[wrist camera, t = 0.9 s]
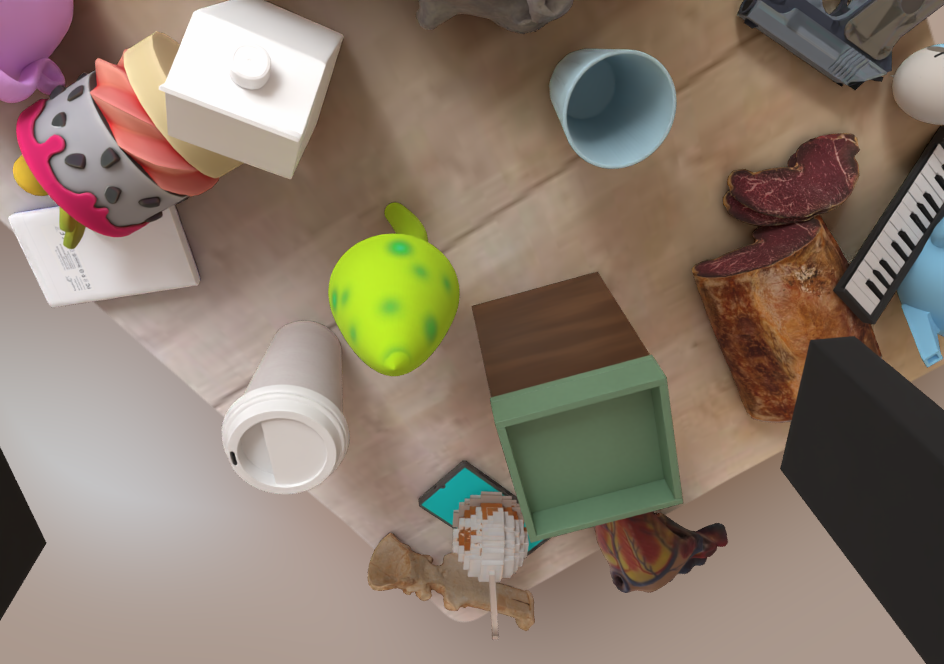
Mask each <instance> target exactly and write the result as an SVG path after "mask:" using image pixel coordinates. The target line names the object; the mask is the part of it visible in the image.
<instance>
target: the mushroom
mask: <svg viewBox="0 0 944 664" xmlns="http://www.w3.org/2000/svg"><path fill="white" fill-rule="evenodd" d="M384 214H385V217H386V219H387V220H388V222H389V223H390V224H391V226H392V227H393V229H394V231H395V232H396V234H382V235H377V236H373V237H370V238H367V239H365V240H363V241H361V242H359V243H357V244H356V245H354V246H353V247H351V248H350V249H349V250H348V251H347V252H346V253H345V254H344V255H343V256H342V257H341V258H340V259H339V261H338V262H337V264H336V265H335V267H334V269H333V272H332V274H331V277H330V281H329V289H328V296H329V303H330V308H331V311H332V314H333V317H334V319H335V321H336V323H337V325H338V327H339V329H340V331H341V333H342V335H343V336H344V338H345V340H346V341H347V343H348V344H349V346H350V347H351V348H352V350H353V351H354V352H355V353H356V355H357V356H358V357H359V358H360V359H361V360H362V361H363V362H364V363H365V364H367V365H368V366H369V367H370V368H372V369H374V370H375V371H377V372H379V373H381V374H384V375H387V376H400V375H404V374H407V373H409V372H411V371H413V370H414V369H416V368H417V367H419V366H420V365H421V364H422V363H424V362H425V361H426V360H427V359H428V358H429V357H430V356H431V355H432V353H433V352H434V351H435V350H436V348H437V347H438V346H439V344H440V343H441V341H442V340H443V338H444V337H445V335H446V333H447V332H448V330H449V328H450V326H451V324H452V322H453V320H454V317H455V315H456V312H457V308H458V304H459V283H458V279H457V276H456V273H455V271H454V269H453V267H452V265H451V263H450V262H449V260H448V259H447V258H446V257H445V256H444V255H443V254H442V252H440V251H439V250H438V249H437V248H436V247H434V246H433V245H431V244H430V243H428V238H427V233H426V231H425V228H424V226H423V225H422V223H421V222H420V221H419V219H418V218H417V217H416V216H415V215H414V214H413V213H412V212H410V211H409V210H408V209H407V208H406V207H404V206H403V205H402V204H400V203H397V202H394V203H390V204H389V205H387V207H386V208H385V212H384Z"/></svg>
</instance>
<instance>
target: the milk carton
mask: <svg viewBox="0 0 944 664" xmlns="http://www.w3.org/2000/svg"><path fill="white" fill-rule="evenodd" d="M342 40H343V35H342V34H341V33H339V32H336V31H334V30H332V29H330V28H327V27H325V26H323V25H320V24H318V23H316V22H313V21H311V20H309V19H306V18H304V17H302V16H299V15H297V14H295V13H292V12H290V11H288V10H285V9H283V8H281V7H278V6H276V5H274V4H271V3H269V2H267V1H264V0H229V1H226V2H222V3H219V4H215V5H212V6H208V7H205V8H202V9H198V10H196V11H194V13H193V15H192V18H191V20H190V22H189V25H188V27H187V30H186V32H185V35H184V37H183V40H182V42H181V45H180V47H179V50H178V52H177V54H176V57H175V59H174V62H173V64H172V67H171V69H170V72H169V74H168V77H167V79H166V82H165V83H164V84H162V85H160V86H159V90H161V91H163V92H165V98H166V113H167V128H168V135H169V136H172V137H174V138H177V139H179V140H182V141H185V142H188V143H190V144H193V145H196V146H199V147H201V148H204V149H207V150H210V151H213V152H215V153H218V154H221V155H224V156H226V157H229V158H232V159H235V160H238V161H240V162H243V163H246V164H249V165H251V166H254V167H257V168H260V169H262V170H265V171H268V172H271V173H274V174H276V175H279V176H282V177H285V178H288V179H292V176H293V174H294V172H295V170H296V167H297V165H298V163H299V161H300V159H301V157H302V154H303V152H304V150H305V148H306V146H307V144H308V142H309V139H310V137H311V135H312V133H313V131H314V129H315V127H316V124H317V121H318V118H319V115H320V112H321V108H322V105H323V102H324V99H325V95H326V92H327V89H328V86H329V82H330V79H331V76H332V73H333V69H334V66H335V63H336V60H337V56H338V53H339V50H340V47H341V43H342Z"/></svg>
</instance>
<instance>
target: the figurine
mask: <svg viewBox="0 0 944 664" xmlns="http://www.w3.org/2000/svg"><path fill="white" fill-rule="evenodd" d="M432 562H433V559H432V557H431V556H430V555H421V554H419V553H416V552H413V551H412V550H411V549H410V547H409V546H408V545H406V544H403V543H401V542H400V541H399V540H398V539H397V538H396V537H395V535H394V534H392V533H389V534H388V535H387V536H386V537H384V538H383V539H382V541H380V543H379V545H378V546H377V547H376V549H375V550H374V553H373V555H372V558H371V560H370V563H369V569H368V582H369V586H370V587H371V588H372V589H373V590H378V591H382V590H383V591H384V590H389V589H393V588H399V589H402V590H403V592H404V593H405V594H407V595H410V594H411V593H412V592H415V593H416V596H417V597H419V599H420V600H422V601H426V600H429V599H430V598H431V596H432V594H431V590H435V591H436V592H437V593H440V594H442V595H443V597H444V599H443V601H444V606H445V608H446V609H448V610H451V611H458V609H459V608H460V607H463V608H466V607H467V606H469V607H474V608H479V609H483V610H486V611H491V607H490V588H489V582H479V581H478V577H468V571H467V570H463V563H462V562H458V555H457V553H450V554H447V555H445V556H444V558H443V563H442V565H440V566H435V565H433V564H432ZM495 583H496V600H497V613H500V614H504V615H507V616H510V617H513V618H515V620H516V623H517V625H518V626H519V628H520V629H522V630H525V631H527V630H529V628H530V627H531V626H532V625H533V624H534V622H535V619H534V599H533V596H532V594H531V593H530V592H529V591H527V590H525V591H523V590H521V589H517V588H514V587H511V586H507V585H504V584H501V583H497V582H495Z"/></svg>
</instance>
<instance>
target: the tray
mask: <svg viewBox="0 0 944 664" xmlns="http://www.w3.org/2000/svg"><path fill="white" fill-rule="evenodd" d="M490 402H491V407H492V412H493V416H494V421H495V425H496V428H497V432H498V435H499V438H500V442H501V445H502V449H503V452H504V455H505V459H506V462H507V465H508V469H509V472H510V475H511V479H512V482H513V485H514V489H515V492H516V495H517V499H518V502H519V505H520V509H521V512H522V515H523V519H524V522H525V525H526V529H527V532H528V535H529V539H530V542H531V543H532V542H536V541H539V540H543V539H547V538H551V537H555V536H559V535H563V534H567V533H570V532H574V531H578V530H582V529H586V528H590V527H594V526H598V525H601V524H605V523H609V522H613V521H617V520H621V519H625V518H629V517H632V516H636V515H640V514H644V513H648V512H652V511H656V510H660V509H663V508H667V507H671V506H675V505H679V504H683V499H682V491H681V483H680V476H679V468H678V461H677V453H676V446H675V438H674V430H673V423H672V415H671V408H670V400H669V392H668V385H667V377H666V376H665V374H664V373H663V371H662V370H661V368H660V366H659V365H658V363H657V362H656V360H655V359H654V357H653V356H652V355H648V356H645V357H641V358H637V359H634V360H630V361H626V362H622V363H619V364H615V365H611V366H607V367H604V368H600V369H596V370H592V371H589V372H585V373H581V374H577V375H574V376H570V377H566V378H562V379H559V380H555V381H551V382H548V383H544V384H540V385H536V386H533V387H529V388H525V389H521V390H518V391H514V392H510V393H506V394H503V395H499V396H495V397H491V398H490Z"/></svg>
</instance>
